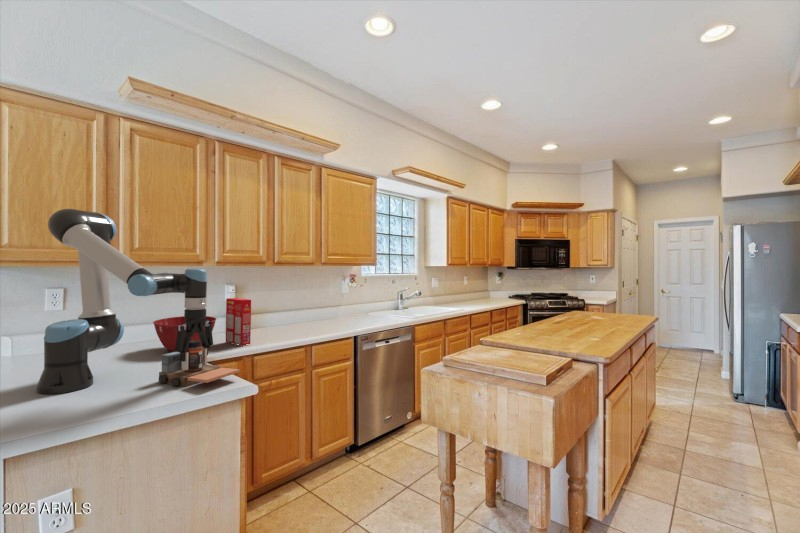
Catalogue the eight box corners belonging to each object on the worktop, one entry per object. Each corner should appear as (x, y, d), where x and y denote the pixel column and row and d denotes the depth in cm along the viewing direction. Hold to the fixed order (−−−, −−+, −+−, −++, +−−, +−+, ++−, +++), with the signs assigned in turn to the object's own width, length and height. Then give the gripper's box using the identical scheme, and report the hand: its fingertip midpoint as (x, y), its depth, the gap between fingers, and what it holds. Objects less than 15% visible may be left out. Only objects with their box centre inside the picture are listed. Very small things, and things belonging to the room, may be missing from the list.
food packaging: (250, 344, 209) (251, 299, 208) (241, 346, 204) (242, 300, 204) (234, 341, 216) (234, 297, 216) (225, 342, 212) (226, 298, 212)
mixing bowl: (188, 358, 177) (189, 325, 177) (137, 353, 183) (138, 322, 183) (227, 345, 205) (227, 317, 205) (182, 342, 211) (182, 314, 211)
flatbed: (180, 388, 136) (180, 360, 136) (155, 382, 142) (155, 356, 142) (223, 374, 153) (223, 350, 153) (199, 370, 159) (199, 346, 159)
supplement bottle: (205, 369, 147) (205, 341, 147) (189, 373, 143) (189, 343, 142) (199, 366, 151) (199, 339, 151) (183, 370, 146) (182, 341, 146)
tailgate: (187, 382, 138) (206, 384, 134) (187, 377, 138) (206, 380, 134) (221, 371, 151) (240, 373, 147) (221, 367, 151) (239, 369, 147)
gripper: (177, 311, 136) (176, 374, 136) (224, 306, 154) (223, 361, 155) (163, 310, 139) (162, 372, 139) (211, 305, 157) (210, 359, 158)
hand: (194, 366), depth 147 cm, fingers open, 7 cm apart
